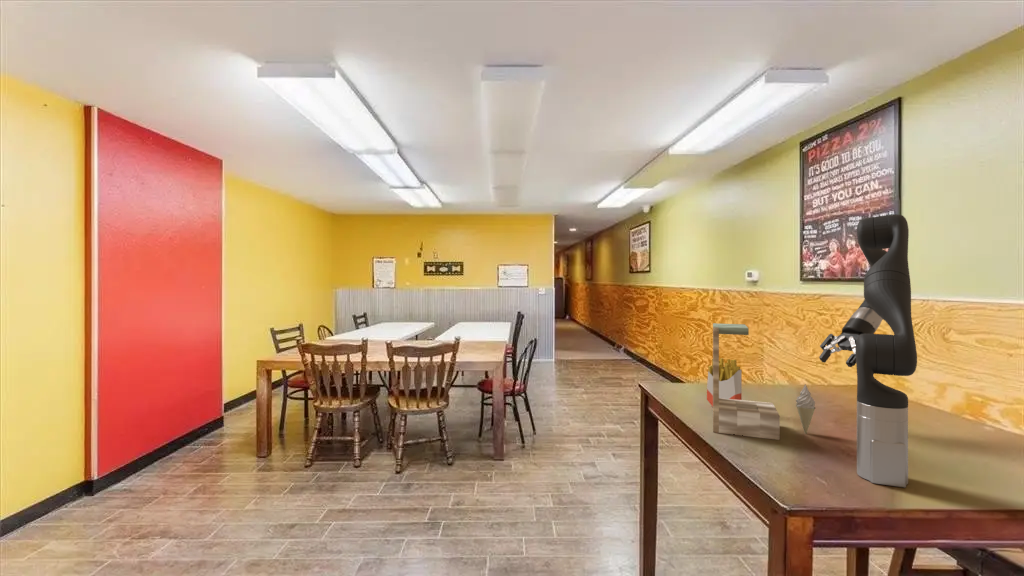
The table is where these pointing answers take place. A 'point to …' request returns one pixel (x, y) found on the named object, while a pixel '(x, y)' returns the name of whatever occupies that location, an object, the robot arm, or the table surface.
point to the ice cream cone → (805, 408)
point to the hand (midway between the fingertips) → (834, 363)
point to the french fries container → (726, 381)
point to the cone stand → (740, 401)
